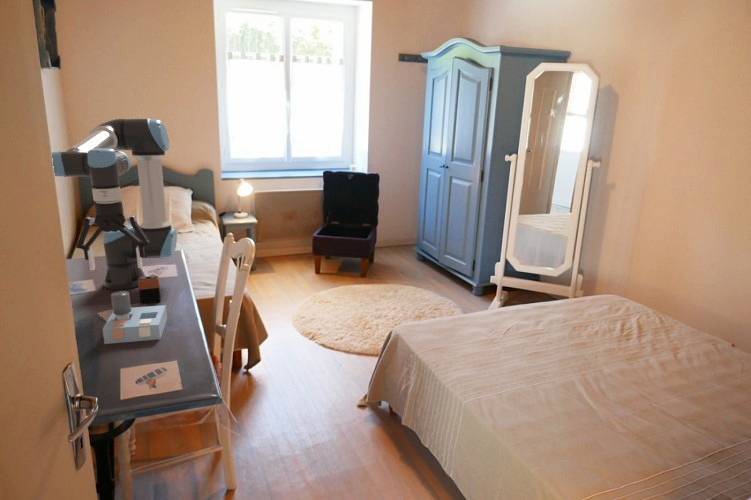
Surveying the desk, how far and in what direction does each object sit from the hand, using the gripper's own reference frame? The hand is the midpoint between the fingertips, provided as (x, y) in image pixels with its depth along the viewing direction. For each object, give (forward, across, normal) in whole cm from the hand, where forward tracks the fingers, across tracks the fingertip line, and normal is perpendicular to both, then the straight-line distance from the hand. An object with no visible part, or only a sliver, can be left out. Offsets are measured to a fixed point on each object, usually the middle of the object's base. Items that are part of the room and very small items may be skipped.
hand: (116, 268), depth 161 cm
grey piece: (+20, 0, 0) cm, 21 cm away
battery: (+22, +4, +26) cm, 34 cm away
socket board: (+22, +4, 0) cm, 22 cm away
